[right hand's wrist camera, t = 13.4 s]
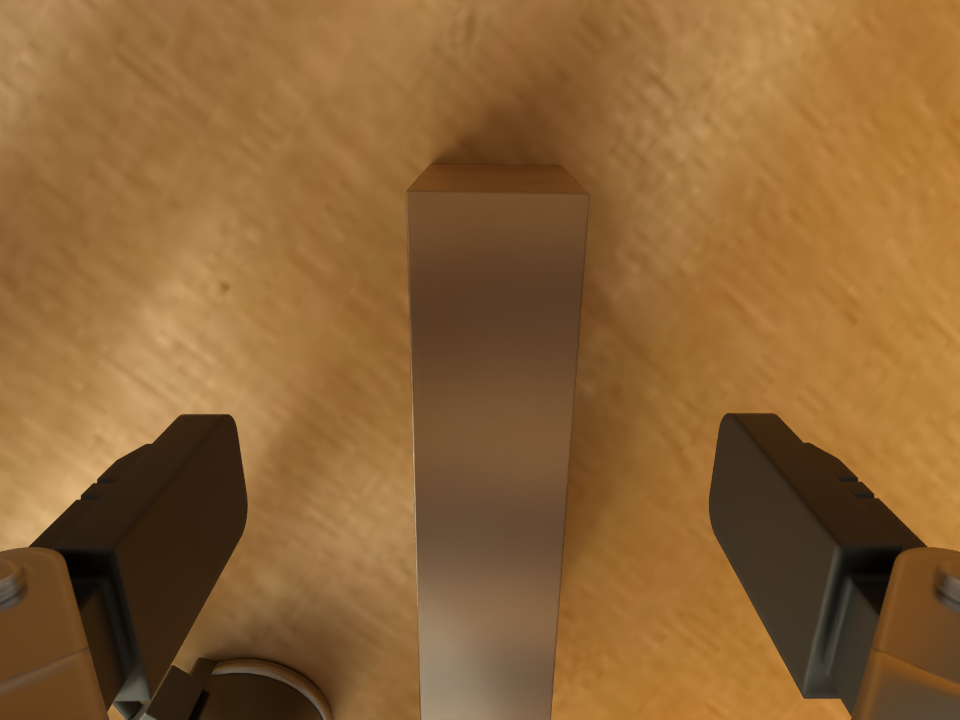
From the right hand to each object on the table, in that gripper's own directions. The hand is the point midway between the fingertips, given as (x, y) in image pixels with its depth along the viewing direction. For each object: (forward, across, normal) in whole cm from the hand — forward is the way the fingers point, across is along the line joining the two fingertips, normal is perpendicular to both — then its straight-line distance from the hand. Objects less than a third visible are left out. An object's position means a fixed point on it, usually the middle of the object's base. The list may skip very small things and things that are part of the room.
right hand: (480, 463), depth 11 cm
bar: (+20, 0, -9) cm, 22 cm away
